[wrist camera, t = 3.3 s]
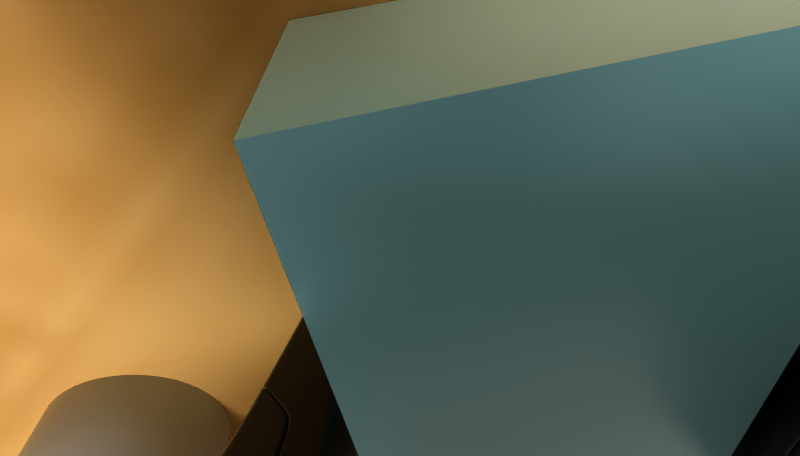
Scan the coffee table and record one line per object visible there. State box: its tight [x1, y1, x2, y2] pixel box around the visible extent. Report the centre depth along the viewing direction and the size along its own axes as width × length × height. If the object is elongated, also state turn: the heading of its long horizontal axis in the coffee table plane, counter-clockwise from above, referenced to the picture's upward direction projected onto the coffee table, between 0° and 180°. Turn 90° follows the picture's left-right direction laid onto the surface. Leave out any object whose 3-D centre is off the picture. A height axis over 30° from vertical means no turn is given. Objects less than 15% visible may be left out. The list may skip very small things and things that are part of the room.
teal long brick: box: [233, 0, 800, 456], centre depth 8 cm, size 10×5×6 cm, turn 8°
